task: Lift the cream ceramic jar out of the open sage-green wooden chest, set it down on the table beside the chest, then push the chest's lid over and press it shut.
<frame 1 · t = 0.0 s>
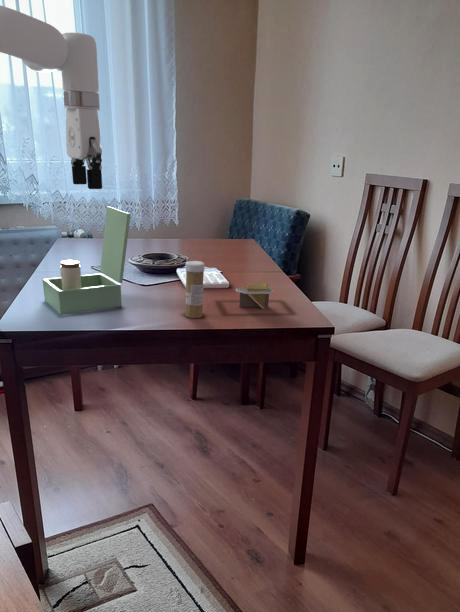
hand: (87, 186, 128), 29 cm above the table, tool pointing down, fingers open, 9 cm apart
jar: (73, 306, 140), point 1 cm above the table, touching chest
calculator: (201, 281, 172), on the table
chest lid: (114, 244, 140), point 15 cm above the table, hinge at 100.0°
sprinkles bottle: (194, 316, 140), on the table
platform: (254, 309, 148), on the table
chest: (83, 306, 143), on the table
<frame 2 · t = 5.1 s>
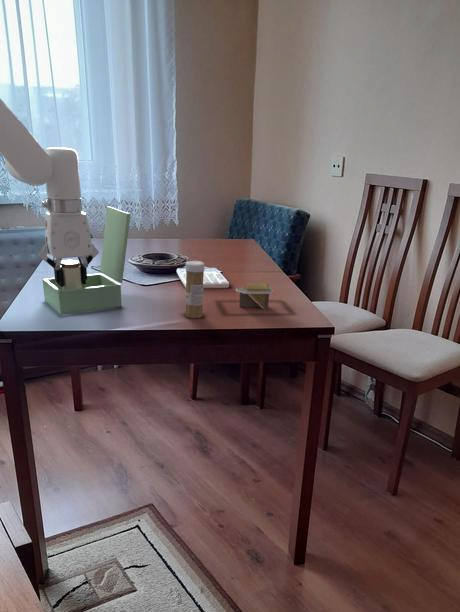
hand: (71, 283, 137), 7 cm above the table, tool pointing down, fingers closed on jar, 4 cm apart
jar: (73, 306, 140), point 1 cm above the table, touching chest, gripper
everything else where it was.
when the fingers open (6 cm above the table, at t = 13.0 s): jar stays where it is, on the table.
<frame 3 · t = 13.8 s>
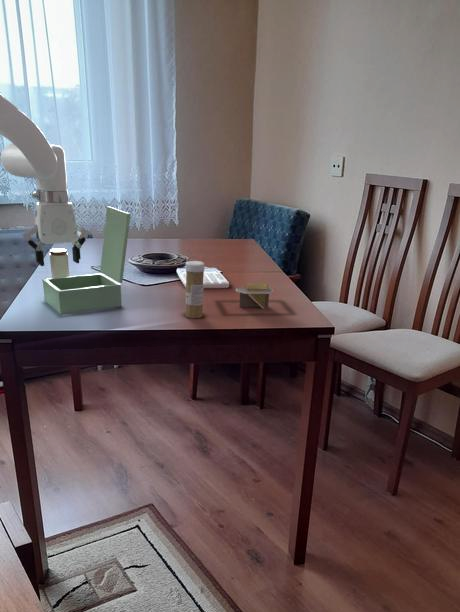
hand: (59, 263, 152), 7 cm above the table, tool pointing down, fingers open, 9 cm apart
jar: (62, 290, 155), on the table
everything else where it was.
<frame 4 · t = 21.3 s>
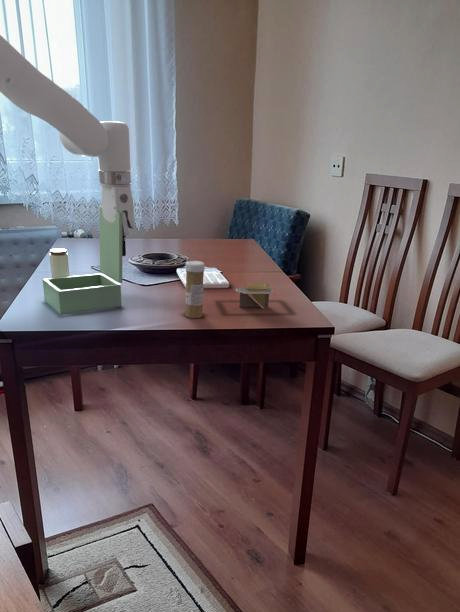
hand: (118, 255, 142), 12 cm above the table, tool pointing down, fingers closed
chest lid: (110, 243, 140), point 15 cm above the table, hinge at 92.8°, touching gripper
everything else where it was.
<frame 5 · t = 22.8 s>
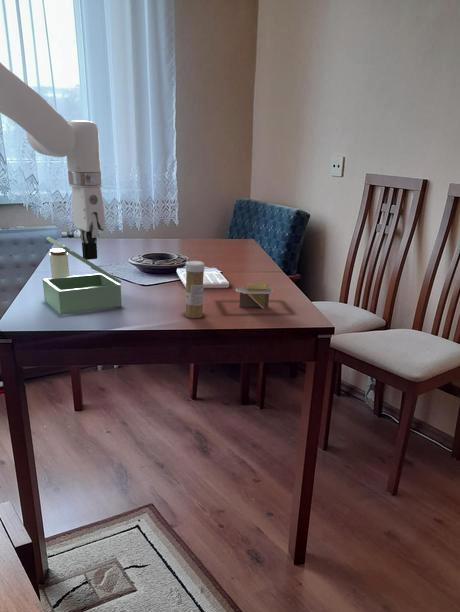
hand: (90, 258, 138), 12 cm above the table, tool pointing down, fingers closed
chest lid: (83, 260, 138), point 12 cm above the table, hinge at 35.1°, touching gripper
everything else where it was.
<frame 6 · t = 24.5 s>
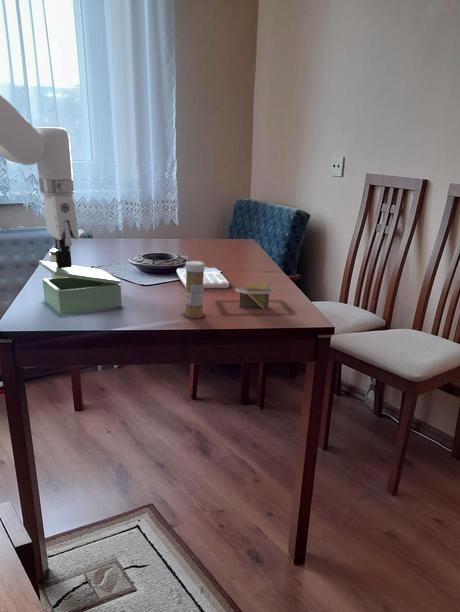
hand: (64, 267, 136), 10 cm above the table, tool pointing down, fingers closed
chest lid: (79, 272, 138), point 9 cm above the table, hinge at 13.3°, touching gripper
everything else where it was.
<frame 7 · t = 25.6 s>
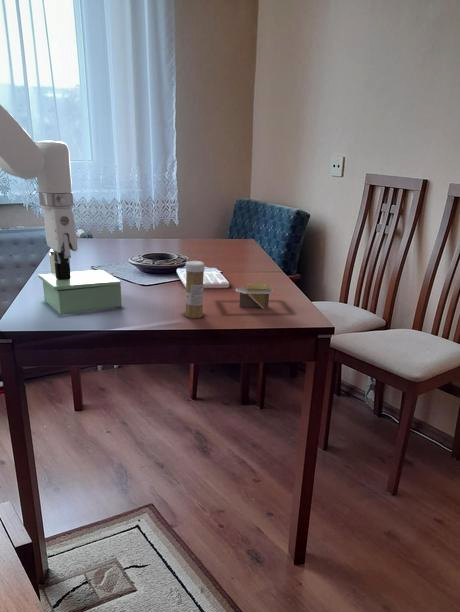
hand: (63, 278, 137), 8 cm above the table, tool pointing down, fingers closed
chest lid: (79, 279, 139), point 7 cm above the table, hinge at 1.3°, touching gripper
everything else where it was.
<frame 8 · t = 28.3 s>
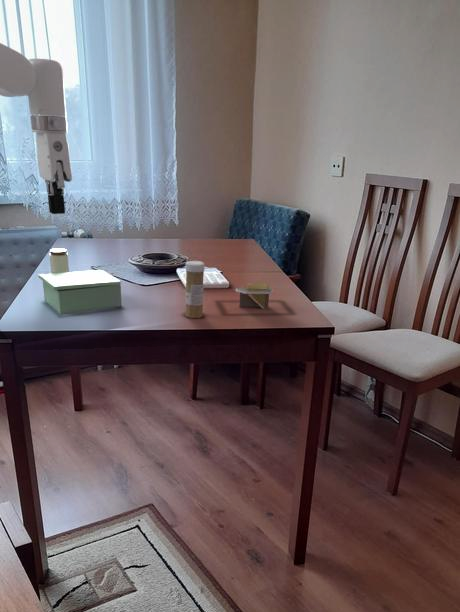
hand: (57, 213, 130), 23 cm above the table, tool pointing down, fingers closed
chest lid: (79, 279, 139), point 7 cm above the table, hinge at 1.3°
everything else where it was.
at the end: jar inside the target area (0.0 cm from its centre), on the table; jar tilted 0°; chest lid at +1° (first picture: +100°) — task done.
